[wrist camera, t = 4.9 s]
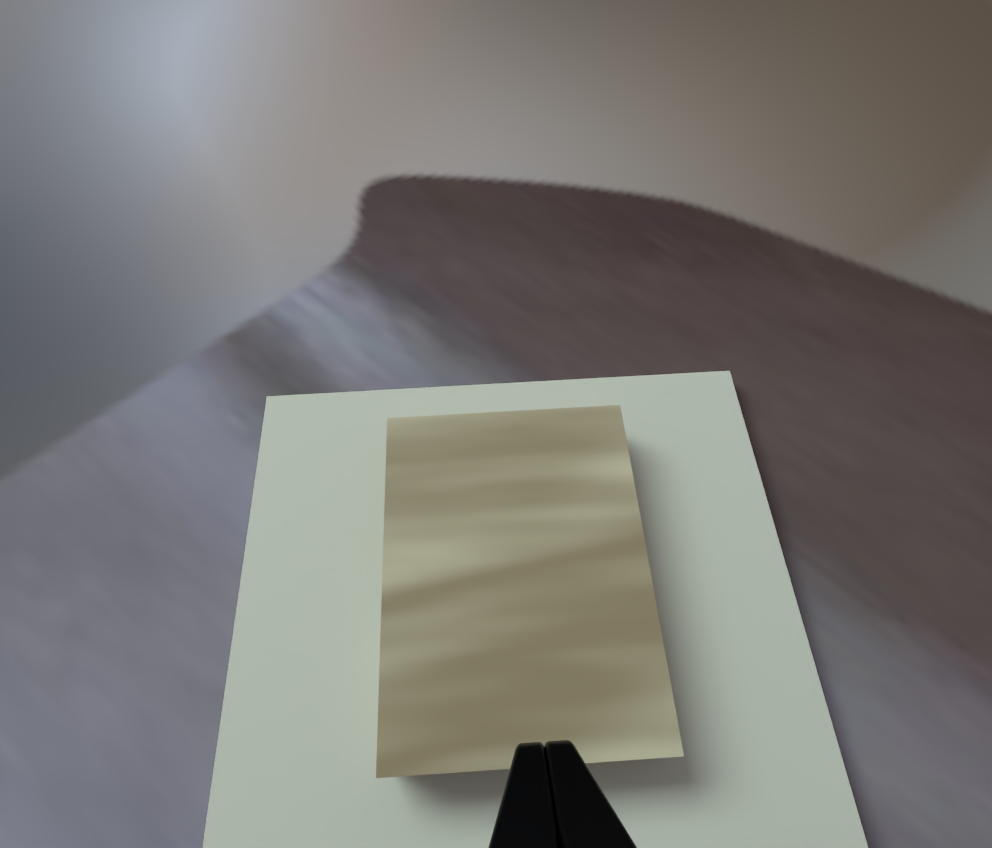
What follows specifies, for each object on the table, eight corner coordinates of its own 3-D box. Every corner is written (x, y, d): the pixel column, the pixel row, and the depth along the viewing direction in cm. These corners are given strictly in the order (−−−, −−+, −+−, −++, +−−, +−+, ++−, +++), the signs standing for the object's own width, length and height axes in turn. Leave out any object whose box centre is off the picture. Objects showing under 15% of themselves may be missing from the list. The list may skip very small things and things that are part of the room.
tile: (683, 756, 12) (620, 404, 16) (375, 778, 12) (387, 417, 15) (662, 745, 13) (609, 428, 17) (390, 765, 13) (397, 440, 17)
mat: (930, 1116, 11) (953, 1139, 10) (168, 1181, 11) (150, 1210, 10) (722, 379, 19) (729, 370, 18) (274, 404, 18) (267, 396, 18)
